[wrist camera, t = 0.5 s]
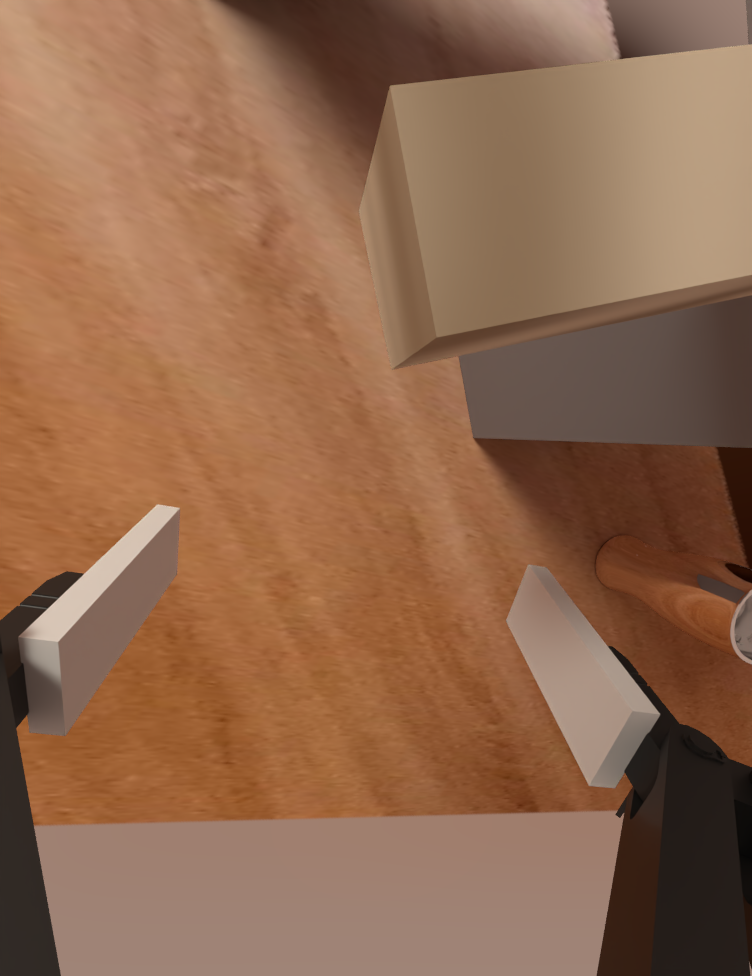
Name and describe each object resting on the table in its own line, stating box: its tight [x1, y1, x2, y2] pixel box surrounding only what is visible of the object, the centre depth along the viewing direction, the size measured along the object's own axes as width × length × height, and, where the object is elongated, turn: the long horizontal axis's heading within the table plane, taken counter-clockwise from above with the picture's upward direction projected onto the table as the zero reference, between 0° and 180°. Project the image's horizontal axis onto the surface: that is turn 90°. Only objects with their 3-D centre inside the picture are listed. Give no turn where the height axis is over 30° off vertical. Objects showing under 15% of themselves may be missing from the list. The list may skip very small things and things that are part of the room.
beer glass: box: [595, 535, 752, 664], centre depth 38 cm, size 7×7×15 cm
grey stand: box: [459, 0, 752, 448], centre depth 25 cm, size 16×14×32 cm
